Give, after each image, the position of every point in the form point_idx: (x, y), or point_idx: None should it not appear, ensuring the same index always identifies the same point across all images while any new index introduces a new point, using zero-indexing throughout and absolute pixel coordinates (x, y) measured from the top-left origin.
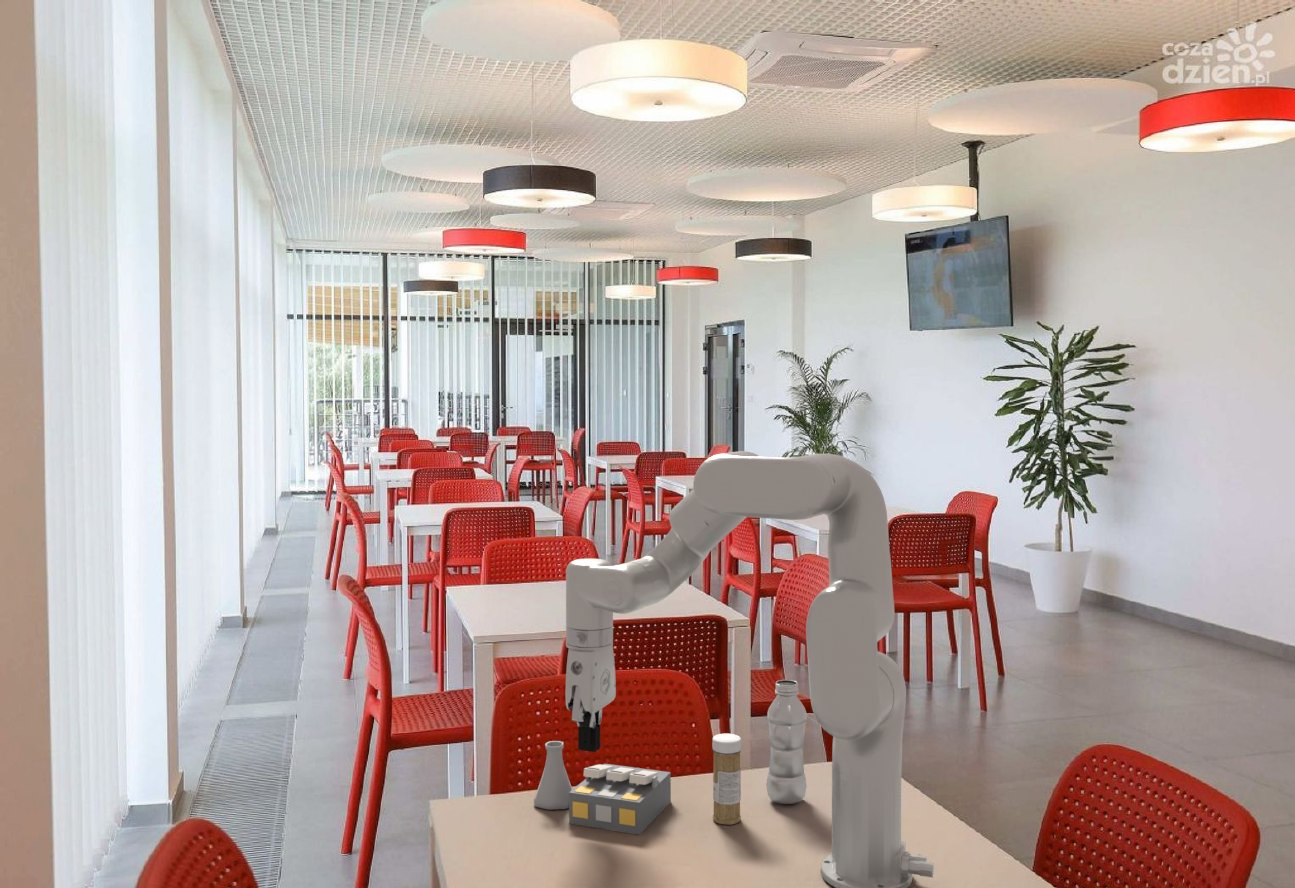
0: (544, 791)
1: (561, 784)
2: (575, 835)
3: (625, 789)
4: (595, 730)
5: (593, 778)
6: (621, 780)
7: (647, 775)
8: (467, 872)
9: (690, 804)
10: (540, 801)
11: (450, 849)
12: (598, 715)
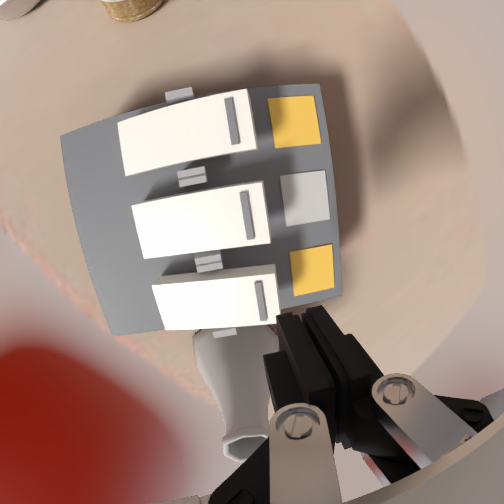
0: None
1: (257, 357)
2: (357, 222)
3: (249, 168)
4: (363, 366)
5: None
6: (261, 180)
7: (210, 99)
8: (480, 280)
9: (87, 98)
10: None
11: (439, 342)
12: (330, 450)
